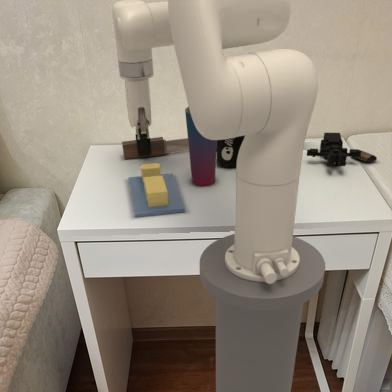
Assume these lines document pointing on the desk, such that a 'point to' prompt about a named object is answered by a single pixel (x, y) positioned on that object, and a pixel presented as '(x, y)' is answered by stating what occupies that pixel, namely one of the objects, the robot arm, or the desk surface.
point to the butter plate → (141, 201)
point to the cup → (200, 154)
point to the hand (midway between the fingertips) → (144, 152)
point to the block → (367, 156)
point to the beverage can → (228, 151)
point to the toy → (333, 150)
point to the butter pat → (150, 170)
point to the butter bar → (155, 191)
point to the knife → (155, 147)
